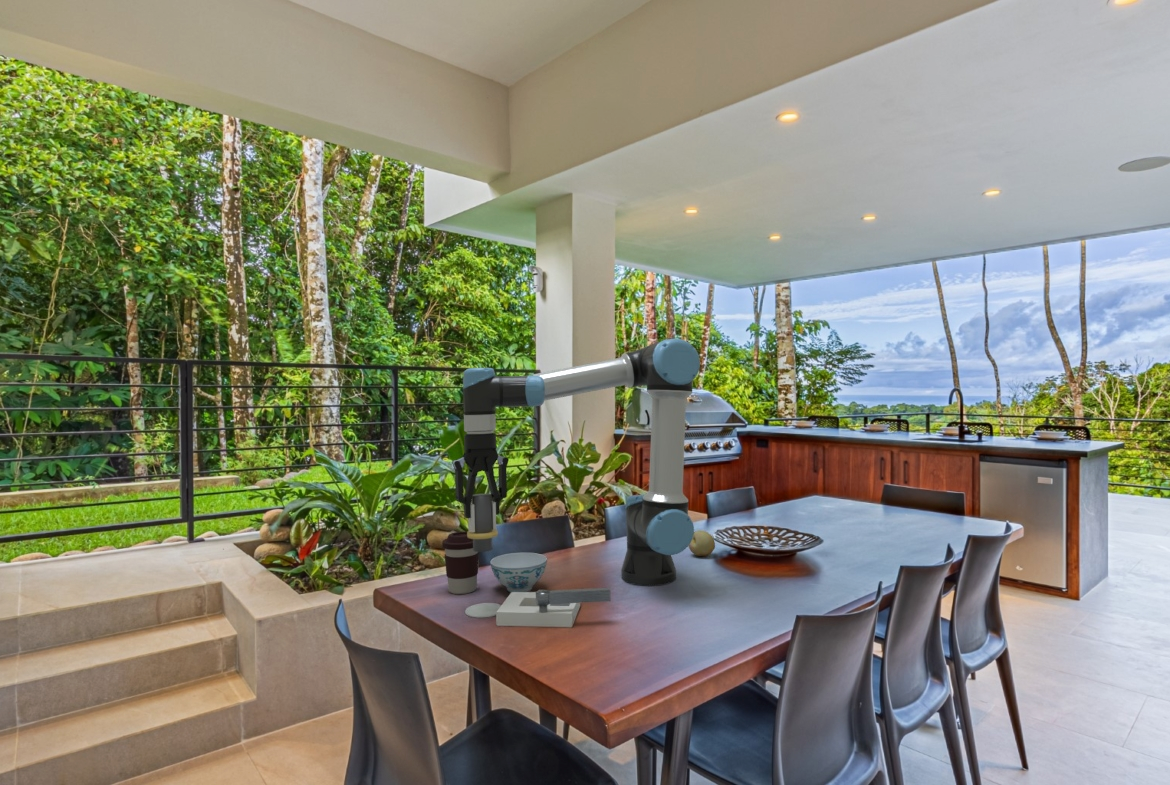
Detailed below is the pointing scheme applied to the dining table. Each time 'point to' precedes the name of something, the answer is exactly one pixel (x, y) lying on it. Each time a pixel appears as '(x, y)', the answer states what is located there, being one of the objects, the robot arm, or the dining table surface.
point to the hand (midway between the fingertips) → (482, 529)
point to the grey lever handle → (572, 596)
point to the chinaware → (518, 570)
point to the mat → (482, 610)
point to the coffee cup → (460, 563)
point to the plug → (482, 523)
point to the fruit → (702, 543)
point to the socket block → (535, 612)
